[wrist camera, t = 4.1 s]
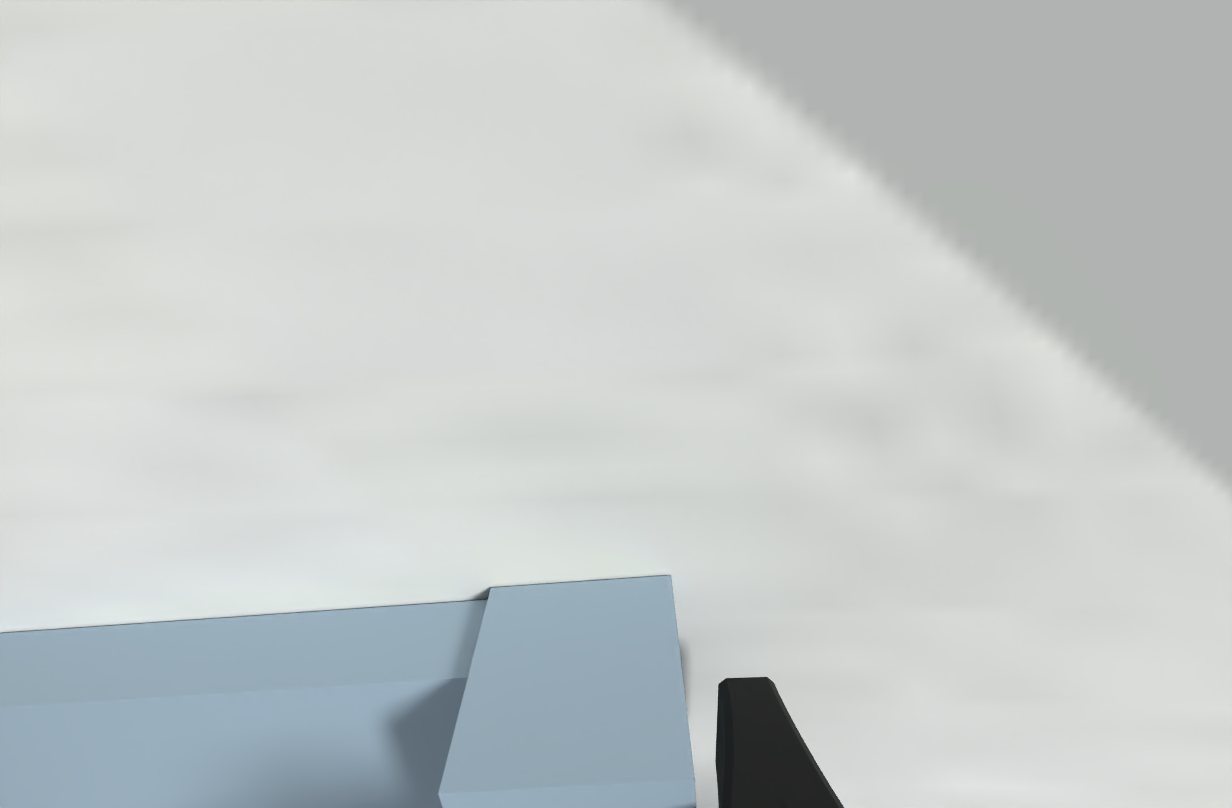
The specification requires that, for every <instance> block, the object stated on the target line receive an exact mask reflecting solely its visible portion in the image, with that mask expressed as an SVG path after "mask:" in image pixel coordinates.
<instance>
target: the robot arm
mask: <svg viewBox="0 0 1232 808" xmlns="http://www.w3.org/2000/svg"><path fill="white" fill-rule="evenodd" d="M716 772H717V783H718V800H719V808H844V807H843V805H842V804H841V802H840V800H839V799H838V797H837V796H836V794H835V793H834V791H833V789H832V788H831V786H830V785H829V783H828V781H827V780H826V778H825V776H824V775H823V773H822V771H821V770H820V768H819V766H818V765H817V763H816V761H815V760H814V758H813V756H812V754H811V753H810V751H809V749H808V747H807V746H806V744H805V742H804V741H803V739H802V737H801V735H800V733H799V731H798V730H797V728H796V726H795V724H794V722H793V720H792V719H791V717H790V715H789V713H788V711H787V709H786V707H785V705H784V703H783V701H782V699H781V697H780V695H779V693H778V691H777V689H776V687H775V684H774V682H772V681H771V680H770V679H769V678H768V677H752V678H726V679H725V680H723V681H722V682H721V683H719V686H718V712H717V738H716Z"/></svg>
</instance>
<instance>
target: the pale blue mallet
mask: <svg viewBox="0 0 1232 808" xmlns="http://www.w3.org/2000/svg"><path fill="white" fill-rule="evenodd" d="M0 808H696V793H695V777H694V768H693V760H692V751H691V743H690V734H689V725H688V717H687V708H686V700H685V691H684V683H683V674H682V665H681V657H680V648H679V640H678V631H677V623H676V614H675V605H674V597H673V588H672V580H671V575H668V576H654V577H639V578H625V579H610V580H596V581H582V582H567V583H553V584H538V585H524V586H510V587H495V588H491V589H490V593H489V597H488V600H477V601H462V602H448V603H433V604H418V605H404V606H389V607H375V608H360V609H346V610H331V611H317V612H302V613H288V614H273V615H259V616H244V617H229V618H215V619H200V620H186V621H171V622H157V623H142V624H128V625H113V626H99V627H84V628H69V629H55V630H40V631H26V632H11V633H0Z"/></svg>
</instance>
